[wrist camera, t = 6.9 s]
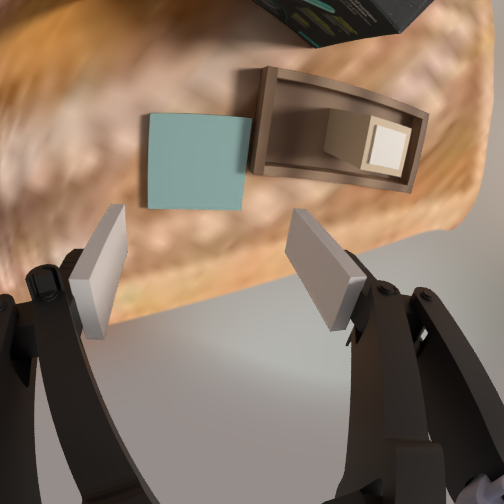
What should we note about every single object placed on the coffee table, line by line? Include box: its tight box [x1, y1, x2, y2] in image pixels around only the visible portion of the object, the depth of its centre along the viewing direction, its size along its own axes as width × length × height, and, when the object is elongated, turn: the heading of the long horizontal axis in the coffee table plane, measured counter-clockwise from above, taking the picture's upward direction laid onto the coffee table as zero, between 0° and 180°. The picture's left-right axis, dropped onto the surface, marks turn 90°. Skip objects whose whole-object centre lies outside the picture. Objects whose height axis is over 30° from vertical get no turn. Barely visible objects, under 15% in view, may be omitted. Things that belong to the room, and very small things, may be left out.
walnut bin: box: [249, 66, 429, 194], centre depth 29 cm, size 21×11×2 cm, turn 83°
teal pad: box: [148, 113, 252, 211], centre depth 28 cm, size 10×10×1 cm
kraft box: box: [323, 108, 412, 177], centre depth 26 cm, size 5×5×8 cm
